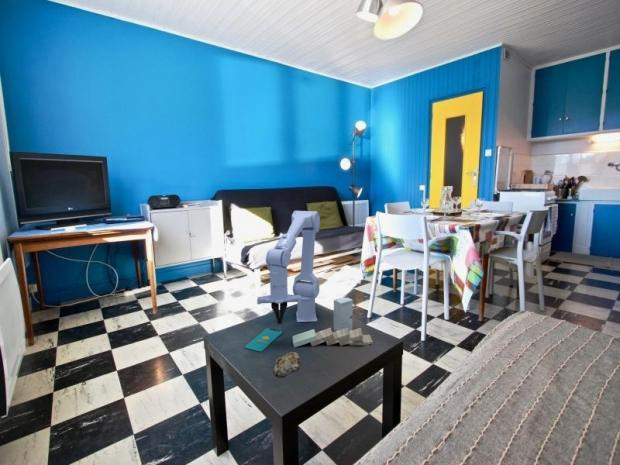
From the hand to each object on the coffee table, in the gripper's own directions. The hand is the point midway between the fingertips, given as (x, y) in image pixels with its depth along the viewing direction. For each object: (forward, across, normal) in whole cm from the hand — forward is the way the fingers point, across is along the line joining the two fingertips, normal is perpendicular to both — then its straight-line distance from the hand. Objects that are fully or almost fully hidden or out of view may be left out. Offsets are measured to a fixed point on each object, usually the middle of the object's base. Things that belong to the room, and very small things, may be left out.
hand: (279, 322), depth 104 cm
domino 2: (+7, +10, 0) cm, 13 cm away
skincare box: (+8, +23, +8) cm, 26 cm away
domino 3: (+7, +16, 0) cm, 18 cm away
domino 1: (+7, +4, 0) cm, 8 cm away
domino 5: (+8, +24, 0) cm, 25 cm away
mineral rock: (+8, +2, -13) cm, 16 cm away
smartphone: (+9, -6, +4) cm, 11 cm away
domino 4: (+7, +21, 0) cm, 22 cm away
